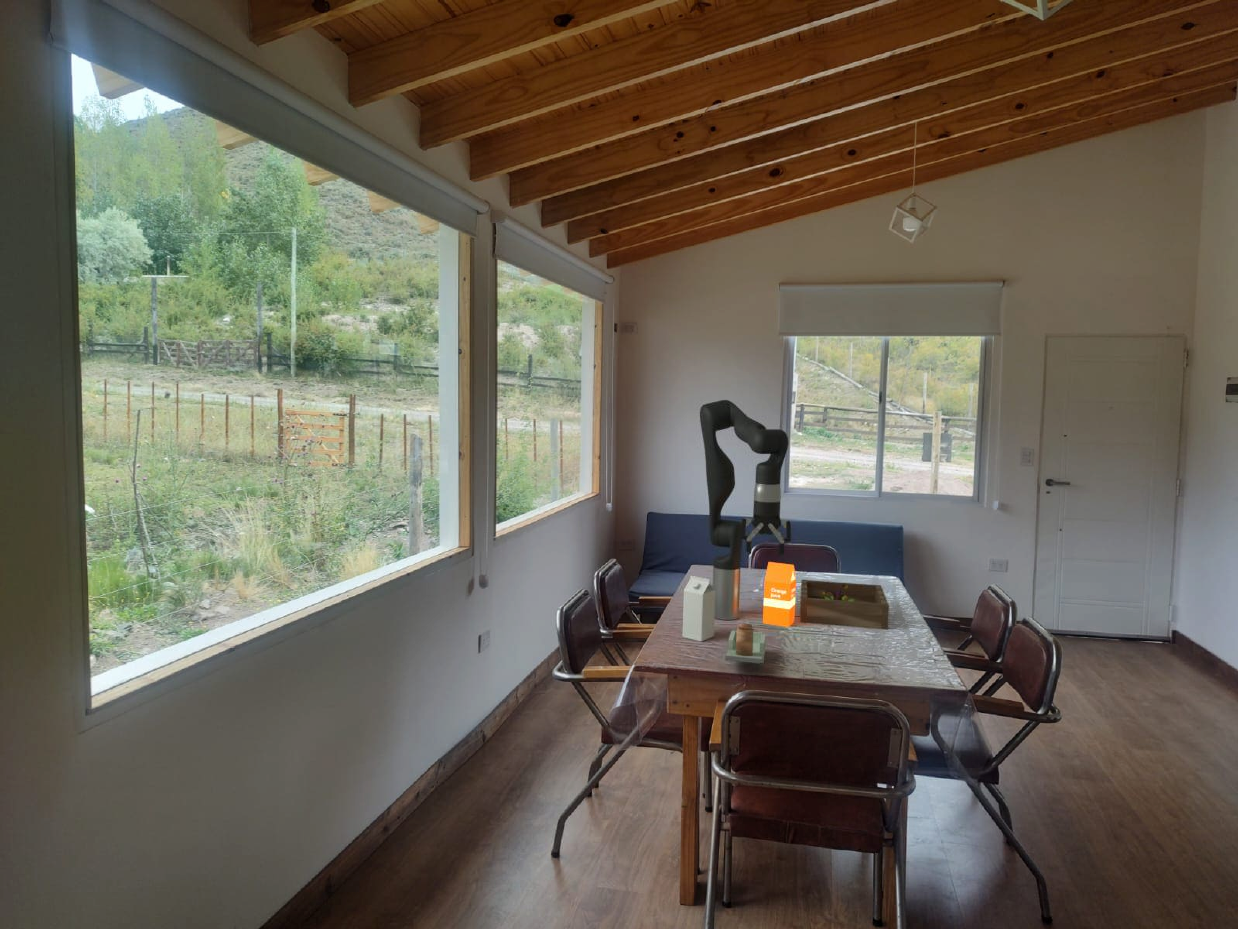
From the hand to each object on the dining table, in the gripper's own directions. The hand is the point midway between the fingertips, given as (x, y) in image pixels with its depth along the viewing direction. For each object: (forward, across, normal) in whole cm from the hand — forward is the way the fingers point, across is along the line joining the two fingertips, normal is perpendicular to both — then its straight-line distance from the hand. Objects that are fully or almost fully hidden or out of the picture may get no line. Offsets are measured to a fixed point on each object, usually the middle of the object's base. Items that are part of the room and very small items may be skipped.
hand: (764, 554), depth 231 cm
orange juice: (+30, +4, +37) cm, 48 cm away
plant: (+31, +24, +52) cm, 65 cm away
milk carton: (+30, -20, +13) cm, 39 cm away
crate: (+30, -4, -1) cm, 30 cm away
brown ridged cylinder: (+26, -4, -12) cm, 29 cm away
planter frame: (+30, +25, +53) cm, 66 cm away
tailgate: (+27, -4, -7) cm, 28 cm away
